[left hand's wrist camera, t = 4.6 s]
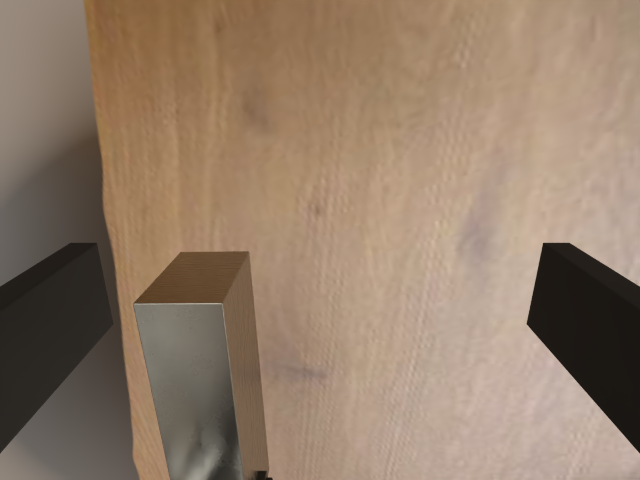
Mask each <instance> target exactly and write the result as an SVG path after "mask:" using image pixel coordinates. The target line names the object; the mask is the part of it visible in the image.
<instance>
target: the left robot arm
mask: <svg viewBox="0 0 640 480" xmlns="http://www.w3.org/2000/svg"><path fill="white" fill-rule="evenodd" d="M112 325H113V320H112V315H111V310H110V306H109V301H108V296H107V291H106V286H105V281H104V276H103V271H102V266H101V261H100V256H99V252H98V247H97V243H70V244H68V245H67V246H65V247H63V248H62V249H60V250H58V251H57V252H55V253H54V254H52V255H50V256H49V257H47V258H46V259H44V260H42V261H41V262H39V263H38V264H36V265H34V266H33V267H31V268H30V269H28V270H26V271H25V272H23V273H22V274H20V275H18V276H17V277H15V278H14V279H12V280H10V281H9V282H7V283H5V284H4V285H2V286H1V287H0V453H1V452H2V451H3V450H4V448H5V447H6V446H7V445H8V444H9V443H10V441H11V440H12V439H13V438H14V437H15V436H16V435H17V434H18V432H19V431H20V430H21V429H22V428H23V427H24V426H25V424H26V423H27V422H28V421H29V420H30V419H31V418H32V416H33V415H34V414H35V413H36V412H37V411H38V409H39V408H40V407H41V406H42V405H43V404H44V403H45V401H46V400H47V399H48V398H49V397H50V396H51V395H52V394H53V392H54V391H55V390H56V389H57V388H58V387H59V386H60V384H61V383H62V382H63V381H64V380H65V379H66V378H67V376H68V375H69V374H70V373H71V372H72V371H73V370H74V368H75V367H76V366H77V365H78V364H79V363H80V362H81V360H82V359H83V358H84V357H85V356H86V355H87V353H88V352H89V351H90V350H91V349H92V348H93V347H94V346H95V344H96V343H97V342H98V341H99V340H100V339H101V338H102V336H103V335H104V334H105V333H106V332H107V331H108V330H109V328H110V327H111V326H112ZM527 325H528V326H529V327H530V328H531V330H532V331H533V332H534V333H535V334H536V335H537V336H538V338H539V339H540V340H541V341H542V342H543V343H544V344H545V346H546V347H547V348H548V349H549V350H550V351H551V352H552V354H553V355H554V356H555V357H556V358H557V359H558V360H559V362H560V363H561V364H562V365H563V366H564V367H565V368H566V370H567V371H568V372H569V373H570V374H571V375H572V376H573V378H574V379H575V380H576V381H577V382H578V383H579V384H580V386H581V387H582V388H583V389H584V390H585V391H586V392H587V394H588V395H589V396H590V397H591V398H592V399H593V400H594V402H595V403H596V404H597V405H598V406H599V407H600V408H601V410H602V411H603V412H604V413H605V414H606V415H607V416H608V418H609V419H610V420H611V421H612V422H613V423H614V424H615V426H616V427H617V428H618V429H619V430H620V431H621V432H622V434H623V435H624V436H625V437H626V438H627V439H628V440H629V442H630V443H631V444H632V445H633V446H634V447H635V448H636V450H637V451H638V452H639V453H640V287H639V286H638V285H636V284H635V283H633V282H631V281H630V280H628V279H627V278H625V277H623V276H622V275H620V274H619V273H617V272H615V271H614V270H612V269H610V268H609V267H607V266H606V265H604V264H602V263H601V262H599V261H598V260H596V259H594V258H593V257H591V256H590V255H588V254H586V253H585V252H583V251H582V250H580V249H578V248H577V247H575V246H573V245H572V244H570V243H543V247H542V252H541V256H540V261H539V266H538V271H537V276H536V281H535V286H534V291H533V296H532V301H531V305H530V310H529V315H528V320H527Z"/></svg>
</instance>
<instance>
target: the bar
mask: <svg viewBox="0 0 640 480" xmlns="http://www.w3.org/2000/svg"><path fill="white" fill-rule="evenodd" d="M133 306H134V311H135V316H136V320H137V325H138V330H139V335H140V339H141V344H142V349H143V353H144V358H145V363H146V368H147V372H148V377H149V382H150V386H151V391H152V396H153V401H154V405H155V410H156V415H157V419H158V424H159V429H160V434H161V438H162V443H163V448H164V452H165V457H166V462H167V467H168V471H169V476H170V480H257V479H258V473H259V471H267V473H269V461H268V450H267V439H266V429H265V418H264V407H263V396H262V385H261V375H260V364H259V353H258V342H257V332H256V321H255V310H254V299H253V288H252V278H251V267H250V256H249V252H248V251H247V252H180V254H179V255H178V256H177V257H176V258H175V259H174V260H173V261H172V262H171V263H170V264H169V265H168V267H167V268H166V269H165V270H164V271H163V272H162V273H161V274H160V275H159V276H158V277H157V278H156V280H155V281H154V282H153V283H152V284H151V285H150V286H149V287H148V288H147V289H146V290H145V292H144V293H143V294H142V295H141V296H140V297H139V298H138V299H137V300H136V301H135V302H134V304H133Z"/></svg>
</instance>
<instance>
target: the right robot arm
mask: <svg viewBox="0 0 640 480" xmlns="http://www.w3.org/2000/svg"><path fill="white" fill-rule="evenodd" d="M257 480H273V479H272V478H268V473H267V471H259V473H258V479H257Z"/></svg>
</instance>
